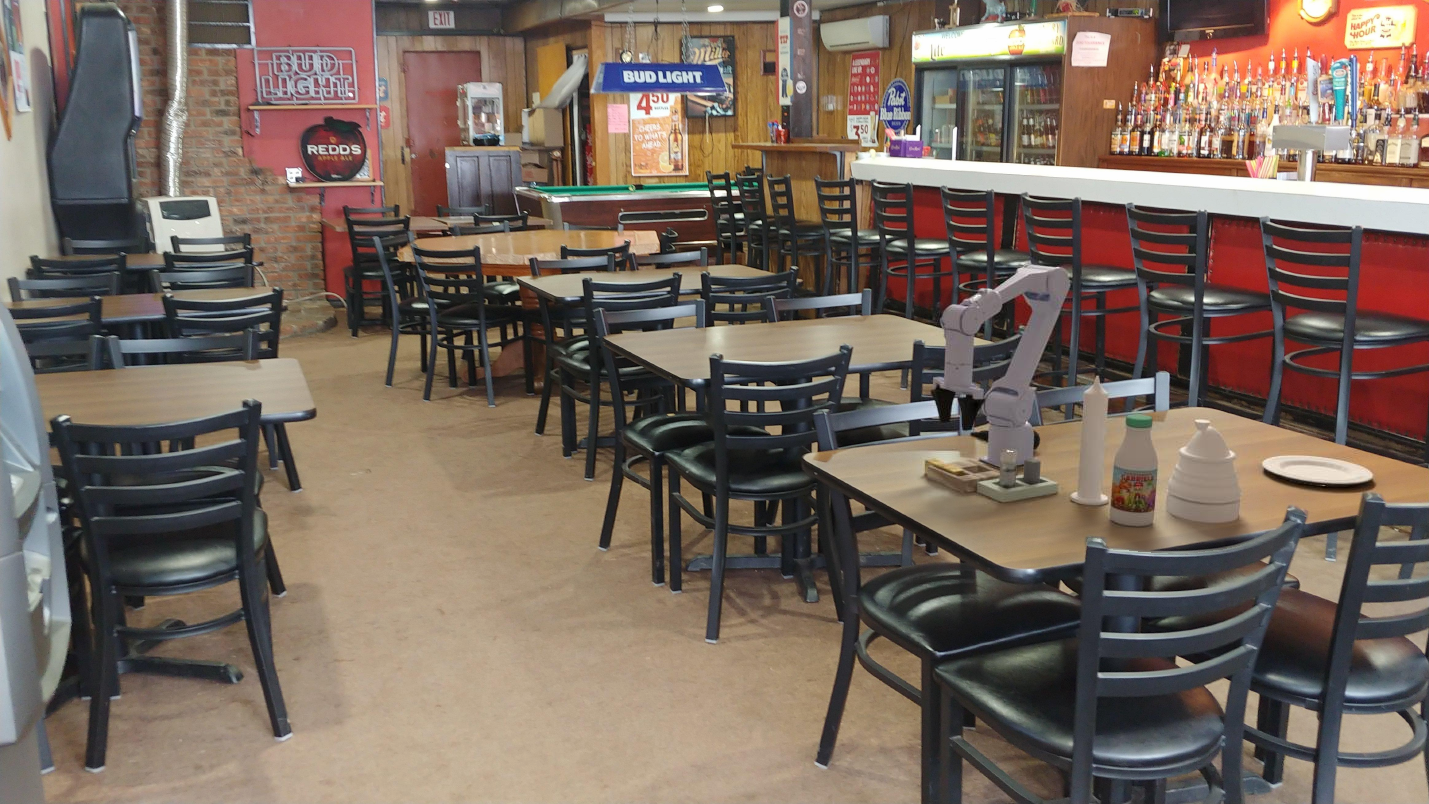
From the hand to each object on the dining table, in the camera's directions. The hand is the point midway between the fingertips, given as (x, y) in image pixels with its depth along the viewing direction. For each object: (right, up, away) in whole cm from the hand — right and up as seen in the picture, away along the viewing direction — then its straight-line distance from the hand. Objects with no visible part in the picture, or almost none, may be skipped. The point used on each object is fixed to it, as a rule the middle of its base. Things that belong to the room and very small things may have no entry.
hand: (955, 426), depth 241 cm
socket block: (+2, -11, -3) cm, 12 cm away
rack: (+10, -13, -11) cm, 20 cm away
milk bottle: (+27, -17, -28) cm, 43 cm away
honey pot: (+42, -16, -23) cm, 51 cm away
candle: (+23, -14, -16) cm, 31 cm away
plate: (+75, -11, -1) cm, 76 cm away
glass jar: (+8, -13, -12) cm, 20 cm away
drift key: (-3, -11, -1) cm, 11 cm away
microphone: (+17, -5, +26) cm, 31 cm away
